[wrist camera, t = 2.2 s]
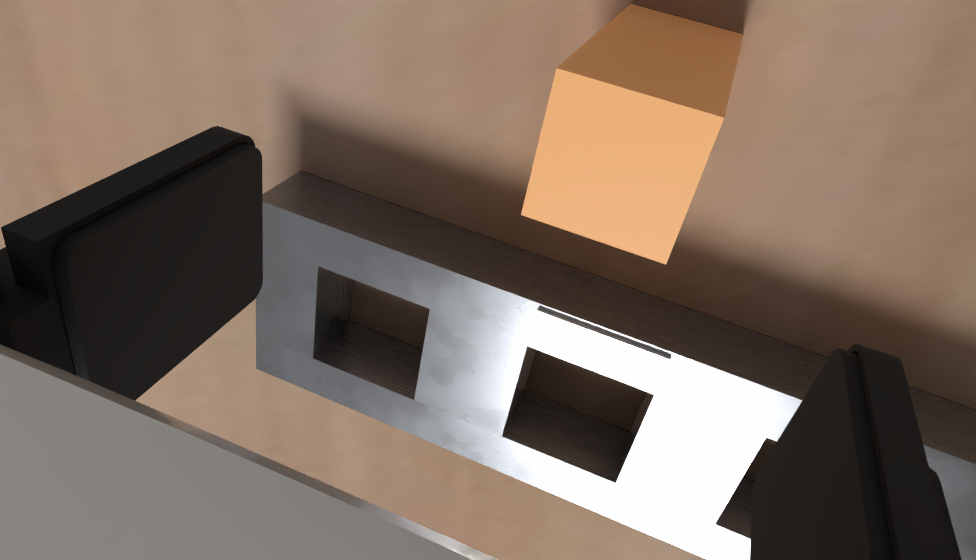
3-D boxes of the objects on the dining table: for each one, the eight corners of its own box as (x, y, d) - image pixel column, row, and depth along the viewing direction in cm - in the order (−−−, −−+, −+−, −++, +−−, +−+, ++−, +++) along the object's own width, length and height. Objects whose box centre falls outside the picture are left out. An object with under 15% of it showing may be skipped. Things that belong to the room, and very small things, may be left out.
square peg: (743, 34, 24) (724, 118, 15) (701, 142, 26) (666, 264, 18) (630, 3, 24) (556, 68, 16) (599, 111, 26) (520, 215, 18)
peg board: (1016, 424, 27) (1046, 493, 24) (886, 572, 32) (897, 644, 29) (300, 170, 33) (252, 200, 30) (294, 332, 38) (253, 370, 35)
